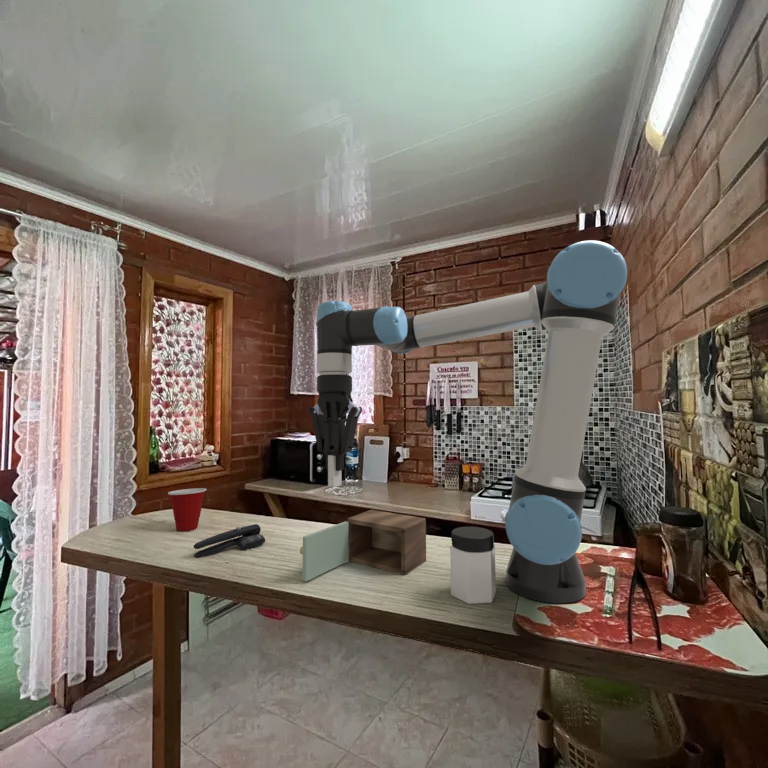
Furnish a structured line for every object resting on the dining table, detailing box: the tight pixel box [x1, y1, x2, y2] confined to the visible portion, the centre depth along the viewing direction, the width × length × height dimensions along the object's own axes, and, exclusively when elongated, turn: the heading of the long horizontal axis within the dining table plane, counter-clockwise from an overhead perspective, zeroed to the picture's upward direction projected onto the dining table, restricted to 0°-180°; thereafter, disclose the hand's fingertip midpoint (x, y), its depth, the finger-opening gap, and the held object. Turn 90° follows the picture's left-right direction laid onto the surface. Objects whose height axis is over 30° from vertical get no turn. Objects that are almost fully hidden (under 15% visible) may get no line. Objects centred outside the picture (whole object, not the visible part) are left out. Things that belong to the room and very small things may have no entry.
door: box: [299, 520, 350, 582], centre depth 94 cm, size 14×3×9 cm, turn 146°
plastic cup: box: [167, 487, 208, 532], centre depth 127 cm, size 11×11×12 cm
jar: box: [450, 526, 497, 605], centre depth 82 cm, size 9×8×12 cm
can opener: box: [193, 523, 266, 559], centre depth 108 cm, size 18×7×6 cm, turn 129°
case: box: [346, 509, 427, 576], centre depth 100 cm, size 16×10×10 cm, turn 57°
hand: (334, 485), depth 88 cm, fingers closed
